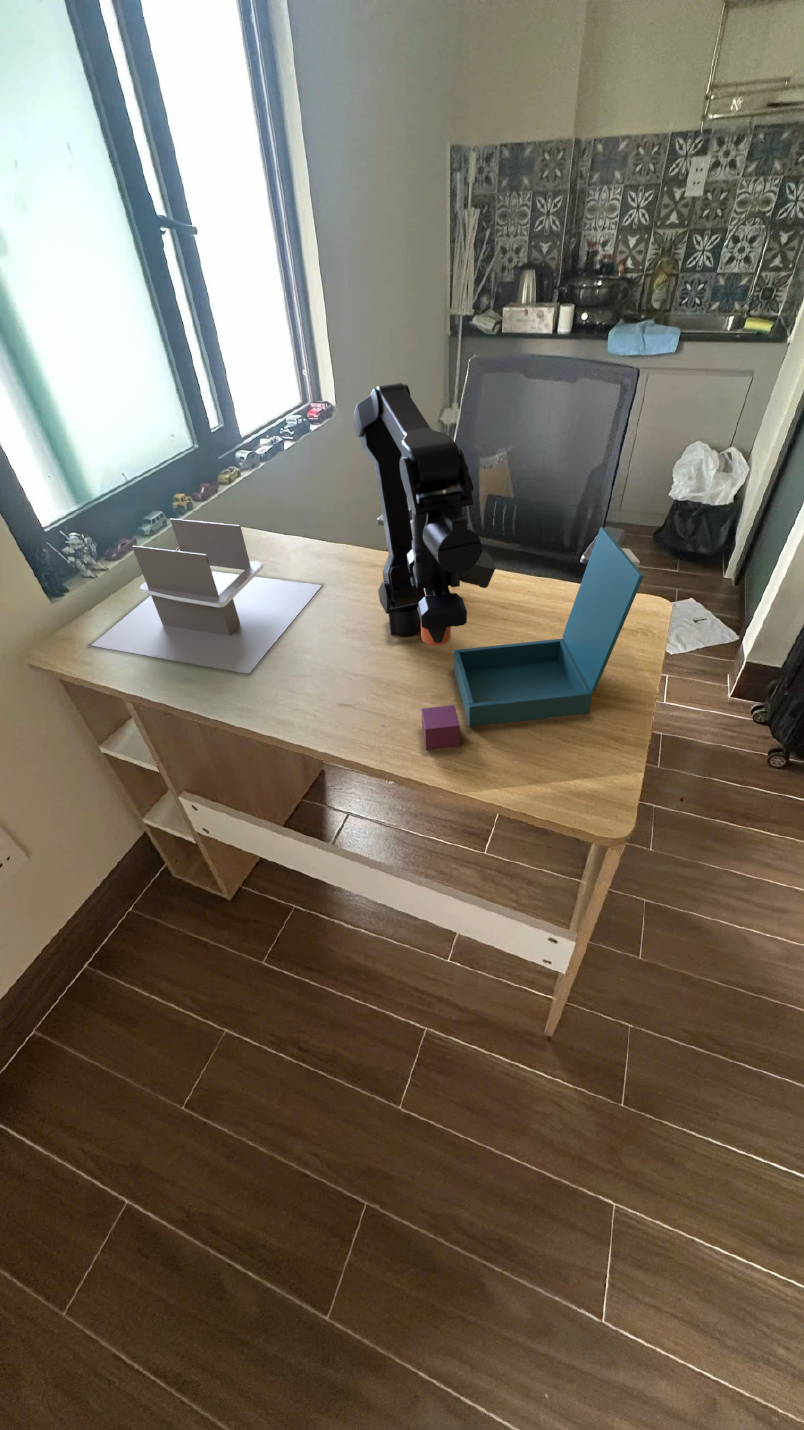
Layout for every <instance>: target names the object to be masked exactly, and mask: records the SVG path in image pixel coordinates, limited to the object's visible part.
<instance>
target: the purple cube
mask: <svg viewBox="0 0 804 1430" xmlns="http://www.w3.org/2000/svg"><path fill="white" fill-rule="evenodd" d="M420 711H421V727H422V728H421V731H422V735H423V741H424V746H425V750H426V751H431V750H433V751H434V750H439V749H449V748H458V747H460V740H461V739H460V735H461V734H460V732H461V731H460V730H461V728H460V727H461V726H460V721H459V718H458V714H457V710H456V705H455V704H450V705H449V704H448V705H441V706H433V707H432V706H431V707H424V708H421V709H420Z"/></svg>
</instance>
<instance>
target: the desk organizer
mask: <svg viewBox="0 0 804 1430" xmlns="http://www.w3.org/2000/svg"><path fill="white" fill-rule="evenodd" d="M169 521H170V524H171V526H172V530H173V532H174V536H175V539H176V542H177V544H178V547H177V548H175V550H173V549H166V548H164V549H163V548H157V547H156V548H155V547H150V546H140V545H132V546H131V548H132V550H133V553H134V555H135V558H136V561H137V563H138V566H139V568H140V570H141V571H140V572H141V573H142V576H143V578H144V581H145V582H143V583H142V584H141V585H140V586H139V590H140V593H143V594H146V595H149V596H148V597H147V598H146V599H144V600H143V601H142V602H141V603H140V604H138V605H137V606H136V607H135V608H133V610H131V611H130V612H129V613H128V614H127V615H125V616H124V617H123V618H122V619H121V620H119V621H118V622H117V623H116V624H114V625H113V626H112V627H111V628H110V629H109V630H108V631H106V632H105V633H104V634H103V635H101V636H100V637H99V638H98V639H97V640H95V641H94V642H93V643H92V644H90V646H91V647H95V648H103V649H107V650H113V651H118V652H119V651H120V652H124V653H129V654H134V655H141V656H147V657H153V658H157V659H158V658H159V659H164V660H170V661H175V662H180V663H184V664H185V663H186V664H191V665H197V666H203V667H208V668H212V669H213V668H214V669H220V670H225V671H231V672H237V673H242V674H247V675H248V674H250V673H251V672H252V671H253V670H254V668H255V667H256V666H257V665H258V663H260V661H261V660H262V659H263V657H264V656H265V655H266V654H267V653H268V651H269V650H270V649H271V648H272V647H273V645H274V644H275V643H276V642H277V641H278V639H279V638H280V637H281V636H282V634H283V633H284V632H285V631H286V630H287V628H289V626H290V625H291V624H292V622H293V621H294V620H295V619H296V617H298V615H299V614H300V613H301V611H302V610H304V608H305V607H306V606H307V604H308V603H309V602H310V601H311V599H312V598H313V597H314V596H315V594H317V592H318V591H319V590H320V588H321V587H322V584H316V583H306V582H301V581H293V580H285V579H276V578H269V577H263V576H262V577H261V576H257V575H258V574H259V573H260V572H261V571H262V570H263V569H264V565H263V562H261V561H254V560H250V558H249V554H248V550H247V545H246V542H245V538H244V534H243V531H242V527H241V524H231V523H220V522H212V521H211V522H210V521H203V520H192V519H189V520H188V519H181V518H169ZM211 567H218V568H225V569H235V570H241V571H242V570H243V571H242V572H241V573H240V574H239V573H238V574H237V573H230V572H223V571H222V572H221V571H213V570H212V568H211Z"/></svg>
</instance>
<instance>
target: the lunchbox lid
mask: <svg viewBox="0 0 804 1430" xmlns="http://www.w3.org/2000/svg"><path fill="white" fill-rule="evenodd" d="M640 563H641V562H640V560H639V559H638V558H637V556H636V555H635V554H634V553H633V551H632V550H631V549H630V548H625V547H621V546H620V545H619V543H618V542H617V541H616V540H615V538H613V536H612V535H611V534H610V532H608V530H607V529H606V527H604V526H600V527H599V530H598V533H597V536H596V539H595V542H594V544H593V547H592V550H591V553H590V556H589V559H588V562H587V565H586V568H585V570H584V572H583V576H582V579H581V582H580V585H579V588H578V590H577V593H576V595H575V599H574V603H573V605H572V608H571V610H570V614H569V616H568V619H567V622H566V624H565V627H564V631H563V633H562V638H563V639H564V641H565V642H566V644H567V646H568V648H569V650H570V652H571V654H572V656H573V658H574V660H575V661H576V663H577V665H578V667H579V669H580V671H581V673H582V675H583V677H584V679H585V681H586V682H587V684H588V686H589V688H590V690H591V692H592V693H595V692H596V690H597V688H598V686H599V683H600V680H601V679H602V676H603V674H604V672H605V669H606V667H607V665H608V662H609V660H610V657H611V654H612V652H613V650H614V648H615V646H616V643H617V640H618V638H619V637H620V634H621V631H622V629H623V626H624V624H625V622H626V619H627V617H628V615H629V613H630V610H631V608H632V605H633V603H634V600H635V598H636V596H637V594H638V591H639V589H640V586H641V584H642V582H643V580H644V575H643V573H642V572H641V571H640V570H639V565H640Z"/></svg>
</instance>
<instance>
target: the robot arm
mask: <svg viewBox="0 0 804 1430" xmlns="http://www.w3.org/2000/svg"><path fill="white" fill-rule="evenodd" d="M352 415H353V416H352V420H353V428H354V432H355V436H356V437H357V438H359V441H360V448H361V450H362V451H363V452H364V453H365V455H366V456H367V457H368V459H369V460H370V461H371V462H372V464H373V467H374V470H375V471H374V472H375V477H376V479H375V480H376V484H377V490H378V496H379V502H380V509H381V514H382V521H383V522H382V523H383V528H384V534H385V539H386V540H385V541H386V547H387V553H388V555H387V558H386V560H385V563H384V564H383V565H384V566H383V568H382V570H381V571H382V579H383V581H382V582H381V583H380V586H379V588H378V590H377V592H378V597H379V602H380V605H381V607H382V608H383V611H384V612H385V614H386V615H388V632H389V634H390V635H391V636H397V637H400V638H412V637H414V636H417V635H418V634H421V625H422V628H425V629H427V630H428V631H429V633H430V635H431V637H432V639H433V640H434V642H435V643H441V642H442V640H443V637H444V634H445V631H446V628H447V627H451V628H453V627H459V626H464V625H466V624H467V623H468V610H467V607H466V603H465V602H464V598H463V597H462V596H460V595H459V594H458V593H457V592H454V593H453V592H451V591H450V588H449V587H451V588H459V587H461V582H462V583H465V584H468V585H469V584H470V585H475V586H478V587H479V588H481V589H487V588H488V587H489V584H490V582H491V580H492V578H493V575H494V573H495V570H496V568H497V567H496V565H495V563H494V560H493V558H492V556H491V555H490V554H488V553H487V551H486V550H484V551H483V544H482V542H481V538H480V537H479V534H477V533H476V532H475V531H474V529H473V528H472V527H471V526H470V525H469V524H468V520H467V518H466V516H464V515H463V507H470V506H473V505H474V498H473V495H472V494H473V492H474V490H475V488H474V485H473V480H472V477H471V473H470V470H469V466H468V462H467V459H466V457H465V455H464V453H463V450H462V449H461V448H460V447H459V446H458V444H457V443H456V442H455V440H454V439H452V438H451V436H450V435H448V434H447V433H445V432H441V431H437V430H434V429H432V427H431V426H430V425H429V423H428V421H427V420H426V418H425V417H424V415H423V414H422V412H421V411H420V409H419V408H418V406H417V405H416V403H415V401H414V400H413V398H412V396H411V391H410V388H409V385H408V384H407V383H402V382H397V383H391V384H384V385H378V386H376V388H373V389H372V390H371V393H370V395H368V396H366V397H365V398H363V400H361V401H360V402H358V403H357V404H356V406H355V408H354V412H353V414H352ZM457 488H459V490H457V491H451V492H446V493H444V492H443V491H447V490H451V489H457ZM409 507H410V509H409ZM409 510H411V514H410V511H409ZM410 515H411V516H410ZM411 520H412V525H413V535H412V529H411V522H410V521H411Z"/></svg>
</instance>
